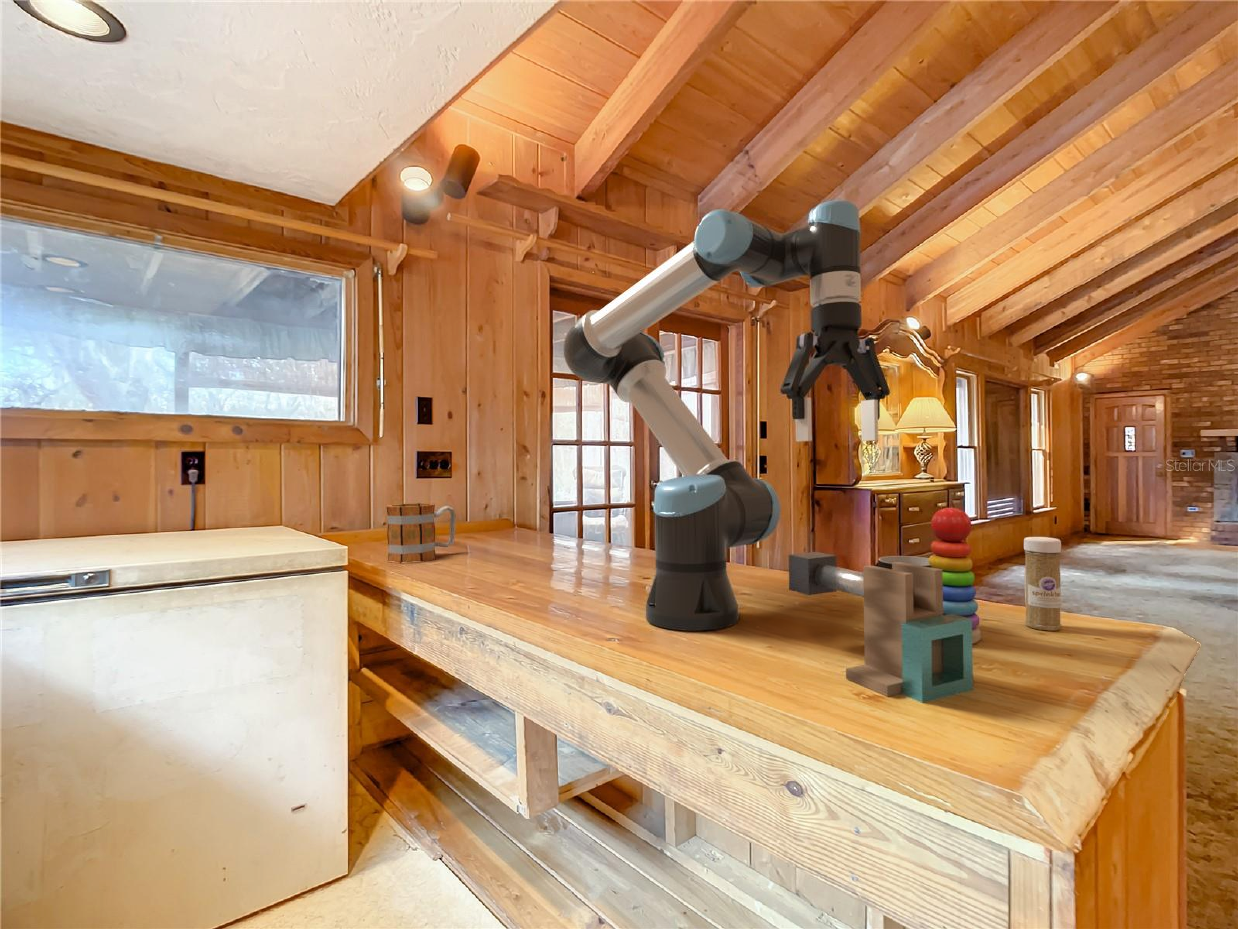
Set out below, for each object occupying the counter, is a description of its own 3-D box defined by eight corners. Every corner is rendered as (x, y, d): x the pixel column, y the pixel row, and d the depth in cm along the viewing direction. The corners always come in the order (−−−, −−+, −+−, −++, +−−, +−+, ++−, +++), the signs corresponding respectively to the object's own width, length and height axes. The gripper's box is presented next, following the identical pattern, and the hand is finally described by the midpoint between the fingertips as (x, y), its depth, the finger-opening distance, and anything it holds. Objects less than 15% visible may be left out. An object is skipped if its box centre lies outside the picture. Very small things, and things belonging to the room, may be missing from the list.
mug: (396, 565, 157) (395, 507, 156) (379, 559, 167) (377, 505, 167) (466, 556, 169) (465, 503, 169) (445, 551, 180) (444, 501, 179)
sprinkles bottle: (1038, 632, 88) (1037, 540, 88) (1017, 623, 92) (1016, 536, 92) (1069, 631, 88) (1068, 539, 88) (1047, 622, 92) (1046, 535, 92)
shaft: (789, 589, 85) (788, 554, 85) (816, 586, 87) (816, 551, 87) (890, 618, 69) (889, 575, 69) (920, 613, 71) (920, 571, 71)
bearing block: (846, 678, 71) (844, 568, 71) (917, 662, 76) (916, 559, 76) (887, 696, 66) (885, 577, 66) (961, 678, 71) (960, 567, 70)
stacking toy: (930, 646, 83) (928, 510, 82) (910, 629, 90) (908, 505, 90) (992, 647, 81) (990, 509, 81) (966, 630, 89) (964, 505, 89)
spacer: (902, 695, 66) (901, 622, 66) (952, 682, 69) (951, 613, 69) (922, 703, 64) (921, 628, 64) (973, 690, 67) (971, 618, 67)
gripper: (788, 291, 85) (790, 440, 86) (912, 306, 96) (914, 439, 96) (755, 304, 92) (758, 442, 93) (875, 317, 103) (877, 441, 103)
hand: (837, 441), depth 94 cm, fingers open, 13 cm apart
